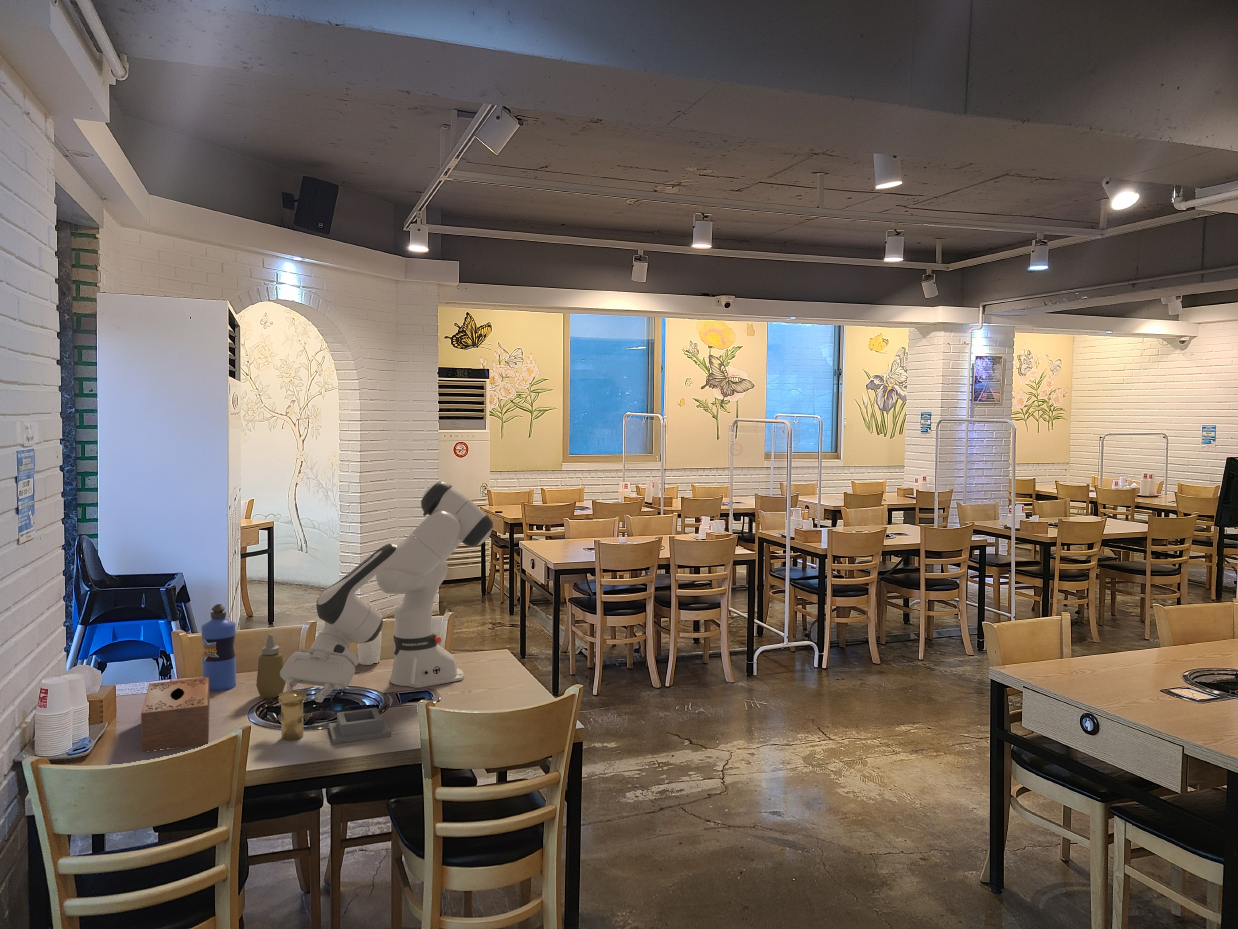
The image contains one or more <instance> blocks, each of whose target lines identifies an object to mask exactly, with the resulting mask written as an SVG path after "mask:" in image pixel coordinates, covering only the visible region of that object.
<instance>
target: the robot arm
mask: <svg viewBox="0 0 1238 929" xmlns="http://www.w3.org/2000/svg"><path fill="white" fill-rule="evenodd" d="M421 498H422V499H421V501H420V507H421V509H422V511H423V517H425V516H427V515H428V517H426V518H425V519H424V520H423V521H422V522H421V523H420V524H419V525H417V526H416V528H415V529H413V531H412V532H411V533H410V534H409V535H408V536H407V537H406V538H404V539H403V540H401V541H399V542H396V543H395V544H394V543H388V544H384V545H383V546H381V547H380V548H378V549H376V550H375V551H374V552H373V553H372V554H370V555H369V556H368V557H367V558H365V559H364V560H363V561H361V563H359V564H358V565H356V567H355V568H353V569H352V570H351V571H349V573H347V574H346V575H344V577H342V578H341V579H340V580H338V581H337V582H335V583H334V584H331V585H330V586H329V587H327V588H326V589H324V590H323V591H322V593H321V594H320V595H319V596H318V597H317V600H316V605H315V606H316V613H317V616H318V618H319V620H322V621H323V622H324V624H323V628H322V629H321V631H320V632H319V633H318V634H317V636H316V638H315V640H314V642H313V643H312V645H311V647H310V648H309V649H305V648H300V649H299V650H296V651H293V652H292V653H291V654H292V655H290V656H289V657H288V659H287V660H286V662H285V663H284V666H283V668H282V669H281V671H280V676H281V678H282V679H283V680H285V681H286V691H285V692H287V691H294V687H296V686H297V684H300V685H307V686H315V687H322V688H323V689H322V690H321V691H319V692H316V694H315V696H314V698H313V700H314V701H315V702H316V703H323V702H324V699H325V697H327V696H328V695H330V693H332V692H333V690H334V689H339V690H345V689H346V688H348V687H349V685H350V684H351V681H352V679H353V677H354V674H355V672H356V667H357V666H358V665H359V664H360V663H359V657H357V655H356V654H355V653H354V652H353V651H352V650H351V649H350V645H351V643H355V644H357V643H367V642H370V641H373V640H374V639H375V638H376V637H377V636H378V634H379V633H380V631H381V630H382V627H383V623H384V619H383V615H382V614H381V613H380V611H378V610H377V609H376V608H375V607H373V606H372V605H370V603H367V602H366V601H365V600H364V599H362V598H360V597H359V596H358V595H357V594H356V593H357V591H358V590H360V589H361V588H362V587H363V586H365V584H367V583H368V582H369V581H370V580H372V579H373V578H374V577H375V580H376V583H377V586H378V588H379V589H380V590H381V591H382V592H383V593H385V594H390V595H391V594H392V595H403V594H404V596H403V598H402V600H401V602H400V603H399V604H398V606H397V607H396V608H395V611H394V635H393V639H392V650H393V651H392V652H393V656H394V657H393V664H392V670H391V675H390V677H389V682H390V683H391V684H393V685H396V686H401V687H403V686H404V687H411V688H414V689H417V688H418V689H420V688H424V687H431V686H437V685H441V684H446V683H447V684H448V683H452V682H453V683H454V682H458V681H462V680H464V678H465V674H464V672H463V670H462V669H461V668H459V667H457V663H456V659H455V657H454V655H453V654H452V653H450V652H449V651H448V650H446V649H445V648H443V647H442V646H440V645H439V644H441V643H442V640H443V639H442V637H440V636H439V635H437V634H435V633H434V632H432V615H433V607H434V606H433V605H434V602H435V598H436V596H437V592H438V591H439V588H440V586H441V585H442V583H443V581H444V580H445V579H446V578H447V575H448V572H449V566H448V563H447V561H448V558H450V557H451V556H452V554H453V553H454V552H455V550H456V549H457V548H459V545H461V543H462V544H464V545H465V546H467V547H470V548H476V547H477V546H480V545H482V544H484V543H485V542H486V541H487V540H488V539H489V537H490V536H491V534H492V531H493V528H494V522H493V520H492V519H491V517H490V516H489V515H488V514H485V512H484V511H483V510H482V509H481V508H480V507H479V506H478V505H477V504H476V503H475V502H474V501H472V500H471V499H469V498H468V497H467V496H465V495H464V494H463V493H461V492H460V491H459V490H457V489H456V488H455V487H453V485H451V484H450V483H448V482H446V481H442V480H441V481H437V482H436V483H434V484H431V485H430V486H429V487H428V488H427V489H426V490H425V491H424V493H423V496H422V497H421ZM381 632H382V631H381Z"/></svg>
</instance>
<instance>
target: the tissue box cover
mask: <svg viewBox="0 0 1238 929" xmlns="http://www.w3.org/2000/svg"><path fill="white" fill-rule="evenodd" d="M142 705H143V706H142V709H141V713H140V718H141V720H140V721H141V722H140V723H141V724H140V726H141V753H142V752H147V751H154V750H160V749H167V748H175V749H180V748H181V749H182V748H188V747H196V746H204V745H207V744H206V743H208V742H209V743H210V741H209V740H210V736H209V734H210V714H209V713H211V712H210V710H211V709H210V707H211V706H210V692H209V677H204V678H203V677H199V678H198V677H197V678H187V679H179V680H169V681H160V682H159V681H158V682H152V683H151V682H150V683H149V684H148V687H147V690H146V694H145V698H144V701H143V704H142ZM203 744H204V745H203ZM177 747H178V748H177ZM179 747H180V748H179ZM154 752H155V751H154ZM147 753H148V752H147Z"/></svg>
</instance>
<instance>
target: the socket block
mask: <svg viewBox="0 0 1238 929" xmlns="http://www.w3.org/2000/svg"><path fill="white" fill-rule="evenodd" d="M328 730H329V731H328V732H329V734H330V738H331V740H332V741H333V742H332V741H331V742H332V745H336V744H335V743H338V744H344V743H343V742H345V743H351V741H352V742H357V741H358V742H359V741H366V740H371V739H379V738H386V737H387V738H388V737H392V735H391V734H392V731H391V729H390V726H389V725H388V722H387V720H386V719H385V717H384V716H381V714H380V713H379V711H378V708H377V707H370V708H363V709H362V708H361V709H354V710H347V711H346V710H345V711H340V712H336V722H333V723H332V722H331V723H328Z"/></svg>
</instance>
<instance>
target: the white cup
mask: <svg viewBox="0 0 1238 929" xmlns="http://www.w3.org/2000/svg"><path fill="white" fill-rule="evenodd" d="M356 644H357V655H358V659H359V663H358V664H359V665H361V666H362V665H363V666H364V665H365V666H371V665H372V664H373V663H377V664H379V663H381V662H380V661H381V652H382V650H381V648H382V631H380V633H379V634H378V636H377V637H376V638H375V639H374V640H373V641H370V642H367V643H356ZM378 662H379V663H378ZM373 665H374V664H373Z"/></svg>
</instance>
